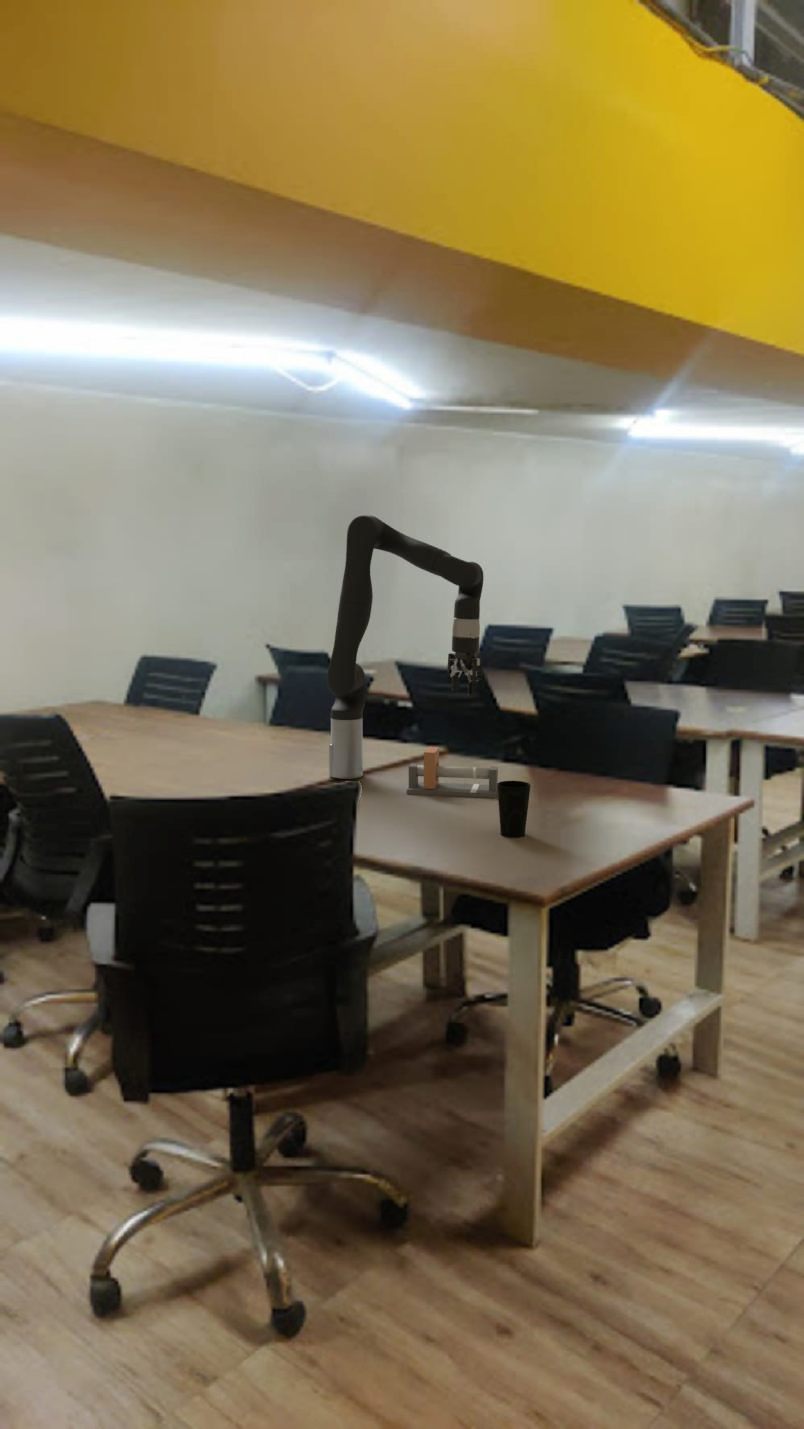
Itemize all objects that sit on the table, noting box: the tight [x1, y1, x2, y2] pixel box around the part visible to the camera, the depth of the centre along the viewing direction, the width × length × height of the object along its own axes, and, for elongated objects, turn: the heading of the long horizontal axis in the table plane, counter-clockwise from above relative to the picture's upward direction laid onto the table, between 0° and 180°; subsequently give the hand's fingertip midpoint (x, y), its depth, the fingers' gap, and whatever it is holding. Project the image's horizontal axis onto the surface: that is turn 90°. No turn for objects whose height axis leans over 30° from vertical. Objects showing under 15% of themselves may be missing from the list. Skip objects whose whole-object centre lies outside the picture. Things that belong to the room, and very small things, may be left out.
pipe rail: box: [406, 763, 499, 799], centre depth 280 cm, size 24×10×7 cm, turn 80°
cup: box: [497, 780, 532, 839], centre depth 238 cm, size 8×8×12 cm
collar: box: [423, 746, 440, 789], centre depth 281 cm, size 3×8×10 cm, turn 170°
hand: (463, 693), depth 285 cm, fingers open, 8 cm apart
